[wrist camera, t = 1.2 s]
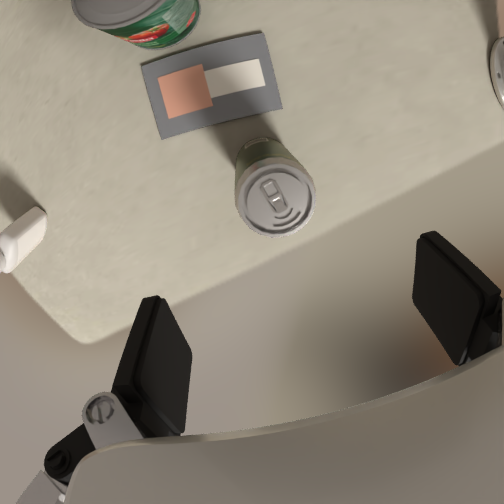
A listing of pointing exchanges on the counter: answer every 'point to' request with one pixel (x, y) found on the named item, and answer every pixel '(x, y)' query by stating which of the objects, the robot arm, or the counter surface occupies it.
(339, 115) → the counter surface
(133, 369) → the robot arm
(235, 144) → the counter surface
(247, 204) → the beer can
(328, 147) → the counter surface
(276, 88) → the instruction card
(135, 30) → the canned tomato
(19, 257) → the eye dropper bottle
